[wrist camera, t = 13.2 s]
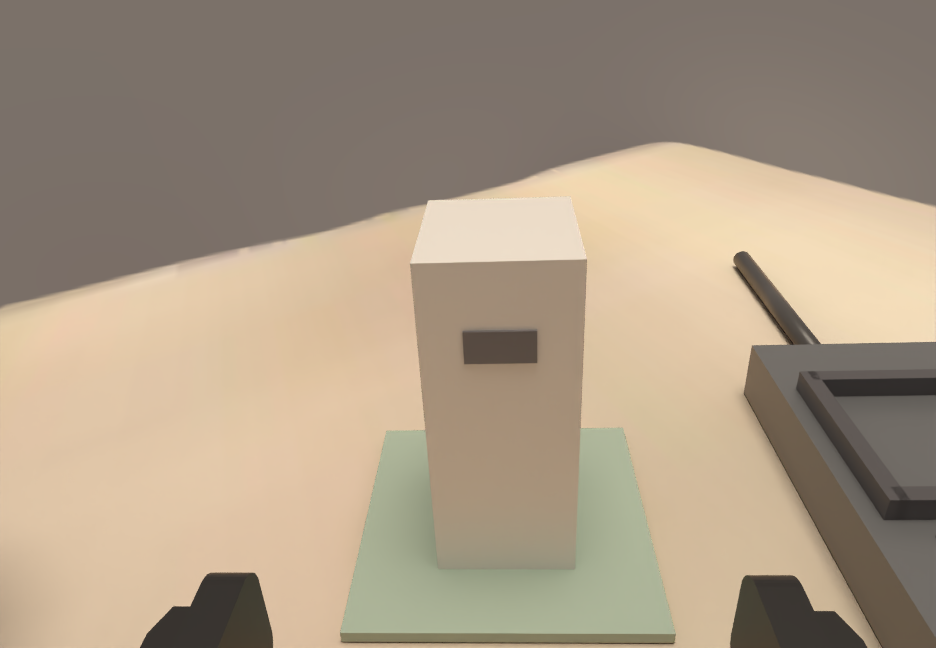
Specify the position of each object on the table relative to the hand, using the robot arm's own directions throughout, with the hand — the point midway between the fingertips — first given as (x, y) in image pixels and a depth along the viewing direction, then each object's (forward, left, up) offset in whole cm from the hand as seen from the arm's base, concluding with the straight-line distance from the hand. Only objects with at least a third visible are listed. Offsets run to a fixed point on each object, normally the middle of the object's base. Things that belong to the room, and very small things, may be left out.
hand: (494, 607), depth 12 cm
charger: (-9, -6, -8) cm, 14 cm away
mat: (-9, -6, -9) cm, 14 cm away
